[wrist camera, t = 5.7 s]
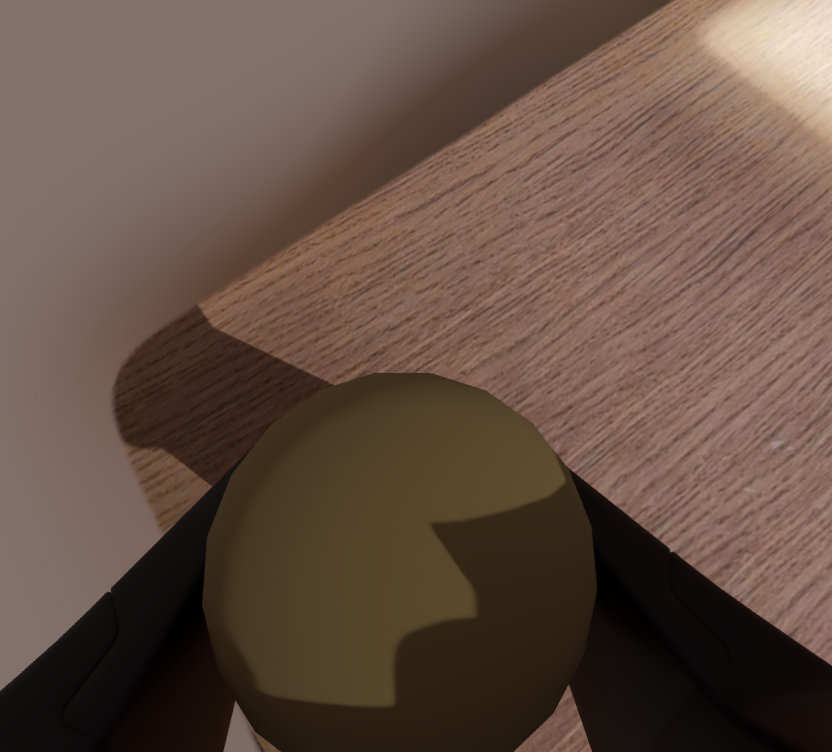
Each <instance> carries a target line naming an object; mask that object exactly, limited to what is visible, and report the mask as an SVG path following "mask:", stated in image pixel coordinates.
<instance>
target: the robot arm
mask: <svg viewBox="0 0 832 752" xmlns="http://www.w3.org/2000/svg"><path fill="white" fill-rule="evenodd" d="M247 455H248V453H247V454H245V455H244V456H243V457H242V458H241V459H240V460H239V461H238V462H237V463H236V464H235V465H234V466H233V467H232V468H231V469H230V470H229V471H228V472H227V473H226V474H225V475H224V476H223V477H222V478H221V479H220V480H219V481H218V482H217V483H216V484H215V485H214V486H213V487H212V488H211V489H210V490H209V491H208V492H207V493H206V494H205V495H204V496H203V497H202V498H201V499H200V500H199V501H198V502H197V503H196V504H195V505H194V506H193V507H192V508H191V509H190V510H189V511H188V512H187V513H186V514H185V515H184V516H183V517H182V518H181V519H180V520H179V521H178V522H177V523H176V524H175V525H174V526H173V527H172V528H171V529H170V530H169V531H168V532H167V533H166V534H165V535H164V536H163V537H162V538H161V539H160V540H159V541H158V542H157V543H156V544H155V545H154V546H153V547H152V548H151V549H150V550H149V551H148V552H147V553H146V554H145V555H144V556H143V557H142V558H141V559H140V560H139V561H138V562H137V563H136V564H135V565H134V566H133V567H132V568H131V569H130V570H129V571H128V572H127V573H126V574H125V575H124V576H123V577H122V578H121V579H120V580H119V581H118V582H117V583H116V584H115V585H114V586H113V587H112V588H111V593H110V592H107V593H105V594H104V596H102V597H101V599H100V600H99V601H97V602H96V604H95V605H93V607H91V609H90V610H89V611H87V612H86V613H85V614H84V615H83V616H82V617H81V618H80V619H79V620H78V621H77V622H76V623H75V624H74V625H73V626H72V627H71V628H70V629H69V630H68V631H67V632H66V633H65V634H63V636H61V637H60V638H59V639H58V640H57V641H56V642H55V643H54V644H53V645H52V646H51V647H49V648H48V649H47V650H46V651H45V652H44V653H43V654H42V655H41V656H39V657H38V658H37V659H36V660H35V661H34V662H33V663H32V664H30V665H29V666H28V667H27V668H26V669H25V670H24V671H23V672H22V673H20V674H19V675H18V676H17V677H16V678H15V679H13V680H12V681H11V682H10V683H9V684H8V685H7V686H5V687H4V688H3V689H2V690H1V691H0V752H223V751H224V747H225V742H226V738H227V734H228V730H229V725H230V721H231V717H232V713H233V709H234V704H235V699H234V697H233V695H232V694H231V692H230V691H229V689H228V687H227V686H226V684H225V683H224V681H223V679H222V678H221V676H220V675H219V673H218V670H217V665H216V661H215V657H214V653H213V649H212V644H211V640H210V636H209V632H208V628H207V623H206V619H205V615H204V611H203V606H202V599H203V586H204V573H205V560H206V547H207V536H208V533H209V531H210V528H211V526H212V523H213V521H214V518H215V516H216V513H217V510H218V508H219V505H220V503H221V500H222V498H223V495H224V493H225V490H226V488H227V485H228V482H229V480H230V477H231V475H232V474H233V472H234V471H235V470H236V469H237V467H238V466H239V465H240V463H241V462H242V461H243V460H244V458H245V457H246V456H247ZM566 467H567V466H566ZM567 468H568V467H567ZM568 469H569V468H568ZM569 471H570V474H571V476H572V479H573V481H574V484H575V486H576V489H577V491H578V494H579V496H580V499H581V501H582V504H583V506H584V509H585V512H586V514H587V517H588V519H589V522H590V524H591V528H592V538H593V549H594V560H595V570H596V581H597V594H596V599H595V604H594V609H593V614H592V619H591V624H590V630H589V635H588V640H587V645H586V650H585V655H584V656H583V658H582V660H581V662H580V664H579V666H578V668H577V670H576V671H575V673H574V675H573V677H572V679H571V681H570V683H569V686H570V689H571V692H572V694H573V697H574V700H575V703H576V706H577V709H578V712H579V715H580V718H581V721H582V724H583V727H584V729H585V732H586V735H587V738H588V741H589V744H590V747H591V750H592V752H832V666H831V665H830V664H828V663H827V662H826V661H824V660H823V659H821V658H820V657H818V656H817V655H815V654H814V653H813V652H811V651H810V650H808V649H807V648H805V647H804V646H802V645H801V644H799V643H798V642H797V641H795V640H794V639H792V638H791V637H789V636H788V635H786V634H785V633H784V632H782V631H781V630H779V629H778V628H776V627H775V626H773V625H772V624H770V623H769V622H768V621H766V620H765V619H763V618H762V617H760V616H759V615H757V614H756V613H755V612H753V611H752V610H750V609H749V608H747V607H746V606H745V605H743V604H742V603H740V602H739V601H738V600H736V599H735V598H733V597H732V596H731V595H729V594H728V593H726V592H725V591H724V590H722V589H721V588H720V587H718V586H717V585H716V584H714V583H713V582H712V581H710V580H709V579H708V578H706V577H705V576H704V575H703V574H701V573H700V572H699V571H697V570H696V569H695V568H693V567H692V566H691V565H690V564H688V563H687V562H686V561H685V560H683V559H682V558H681V557H680V556H678V555H677V554H676V553H675V552H671V553H670V549H669V548H668V547H667V546H666V545H664V544H663V543H662V542H661V541H659V540H658V539H657V538H656V537H654V536H653V535H652V534H651V533H649V532H648V531H647V530H646V529H644V528H643V527H642V526H641V525H639V524H638V523H637V522H635V521H634V520H633V519H632V518H630V517H629V516H628V515H627V514H625V513H624V512H623V511H622V510H620V509H619V508H618V507H617V506H615V505H614V504H613V503H612V502H610V501H609V500H608V499H607V498H605V497H604V496H603V495H602V494H600V493H599V492H598V491H597V490H595V489H594V488H593V487H592V486H590V485H589V484H588V483H587V482H585V481H584V480H583V479H582V478H580V477H579V476H578V475H577V474H575V473H574V472H573V471H572V470H570V469H569Z"/></svg>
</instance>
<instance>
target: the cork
mask: <svg viewBox="0 0 832 752" xmlns="http://www.w3.org/2000/svg"><path fill="white" fill-rule="evenodd" d="M596 594H597V581H596V570H595V560H594V549H593V538H592V528H591V524H590V522H589V519H588V517H587V514H586V512H585V509H584V506H583V504H582V501H581V499H580V496H579V494H578V491H577V489H576V486H575V484H574V481H573V479H572V476H571V474H570V471H569V469H568V468H567V467H566V465H565V464H564V463H563V461H562V460H561V459H560V458H559V456H558V455H557V454H556V453H555V451H554V450H553V449H552V447H551V446H550V445H549V444H548V442H547V441H546V440H545V439H544V437H543V436H542V435H541V433H540V432H539V431H538V430H537V428H536V427H535V426H534V425H533V423H531V422H530V421H529V420H527V419H526V418H524V417H523V416H521V415H520V414H519V413H517V412H516V411H514V410H513V409H511V408H510V407H509V406H507V405H506V404H504V403H503V402H501V401H500V400H499V399H497V398H496V397H494V396H493V395H491V394H490V393H488V392H487V391H486V390H482V389H479V388H476V387H473V386H470V385H467V384H463V383H460V382H457V381H454V380H451V379H448V378H445V377H441V376H438V375H435V374H432V373H373V374H370V375H367V376H363V377H360V378H357V379H354V380H351V381H348V382H344V383H341V384H338V385H335V386H332V387H328V388H325V389H322V390H320V391H319V392H317V393H316V394H314V395H313V396H311V397H310V398H308V399H307V400H306V401H304V402H303V403H301V404H300V405H298V406H297V407H295V408H294V409H293V410H291V411H290V412H288V413H287V414H285V415H284V416H282V417H281V418H280V419H278V420H277V421H275V422H274V423H273V424H271V425H270V427H269V428H268V429H267V430H266V432H265V433H264V434H263V436H262V437H261V438H260V439H259V441H258V442H257V443H256V444H255V446H254V447H253V448H252V450H251V451H250V452H249V453H248V455H247V456H246V457H245V458H244V460H243V461H242V462H241V463H240V465H239V466H238V467H237V469H236V470H235V471H234V472H233V474H232V475H231V477H230V480H229V482H228V485H227V488H226V490H225V493H224V495H223V498H222V500H221V503H220V505H219V508H218V510H217V513H216V516H215V518H214V521H213V523H212V526H211V528H210V531H209V533H208V536H207V547H206V560H205V573H204V586H203V599H202V606H203V611H204V615H205V619H206V623H207V628H208V632H209V636H210V640H211V644H212V649H213V653H214V657H215V661H216V665H217V670H218V673H219V675H220V676H221V678H222V679H223V681H224V683H225V684H226V686H227V687H228V689H229V691H230V692H231V694H232V695H233V697H234V699H235V700H236V702H237V703H238V705H239V707H240V708H241V710H242V711H243V713H244V715H245V716H246V718H247V719H248V721H249V722H250V724H251V726H252V727H253V729H254V730H255V732H256V733H258V734H259V735H260V736H262V737H263V738H264V739H265V740H267V741H268V742H269V743H271V744H272V745H273V746H274V747H276V748H277V749H278V750H279V751H281V752H514V751H515V750H516V749H517V748H518V747H519V746H520V745H521V744H522V743H523V742H524V741H525V740H526V739H527V738H528V737H529V736H530V735H531V734H532V733H533V732H534V731H535V730H537V729H538V728H539V727H540V726H541V725H542V724H543V723H544V722H545V721H546V720H547V719H548V718H549V717H550V716H551V715H552V714H553V713H554V711H555V709H556V707H557V705H558V703H559V701H560V700H561V698H562V696H563V694H564V692H565V690H566V688H567V686H568V685H569V683H570V681H571V679H572V677H573V675H574V673H575V671H576V670H577V668H578V666H579V664H580V662H581V660H582V658H583V656H584V655H585V650H586V645H587V640H588V635H589V630H590V624H591V619H592V614H593V609H594V604H595V599H596Z"/></svg>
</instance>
